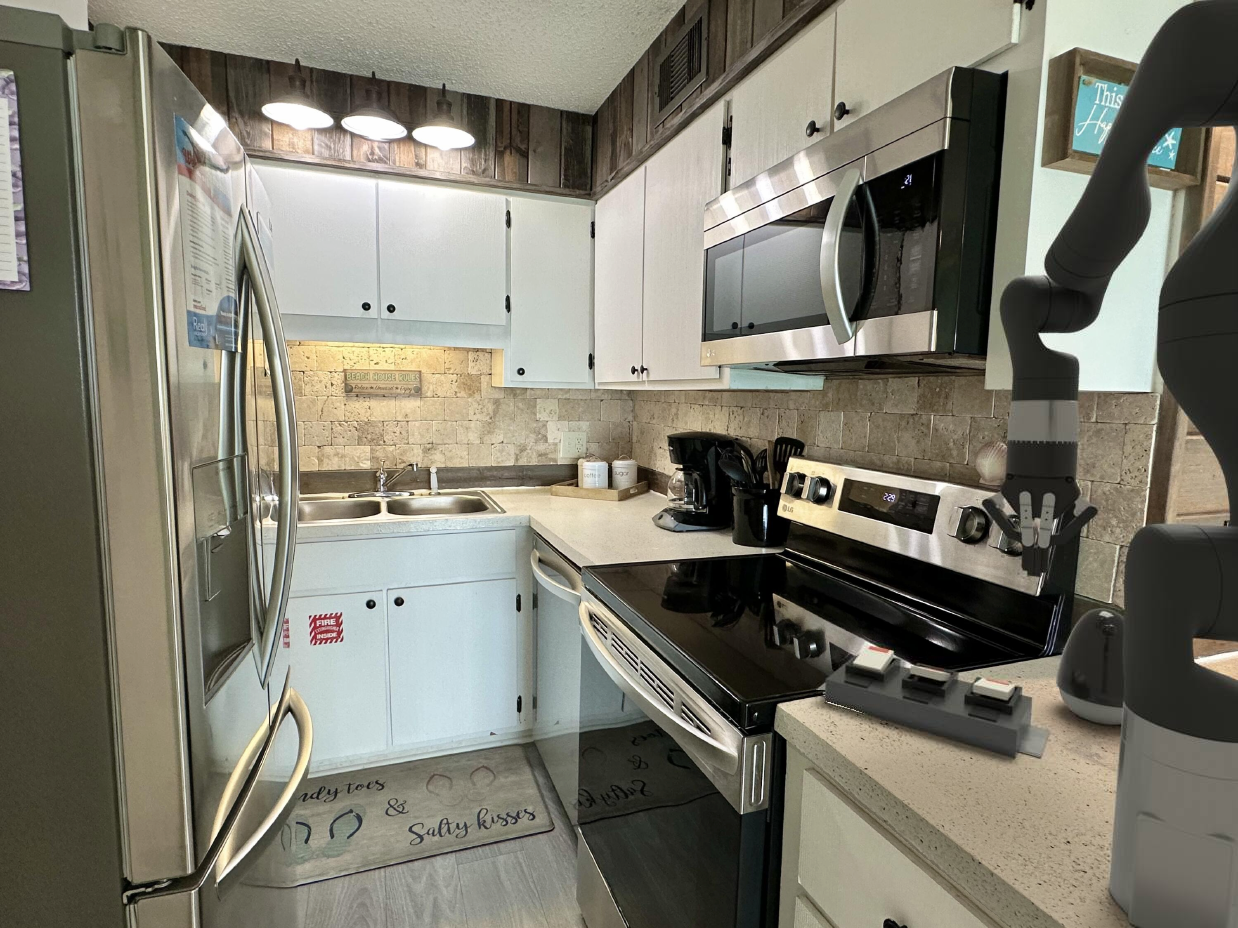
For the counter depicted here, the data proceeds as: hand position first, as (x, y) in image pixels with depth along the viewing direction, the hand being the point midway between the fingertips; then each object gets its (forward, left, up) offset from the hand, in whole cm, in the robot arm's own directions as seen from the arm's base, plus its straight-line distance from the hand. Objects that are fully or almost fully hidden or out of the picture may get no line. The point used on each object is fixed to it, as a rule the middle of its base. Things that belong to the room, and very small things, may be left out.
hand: (1034, 575), depth 86 cm
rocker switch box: (0, +12, -22) cm, 25 cm away
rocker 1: (+2, +20, -17) cm, 26 cm away
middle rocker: (+2, +12, -17) cm, 21 cm away
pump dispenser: (+14, -7, -22) cm, 27 cm away
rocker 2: (+2, +4, -17) cm, 17 cm away
